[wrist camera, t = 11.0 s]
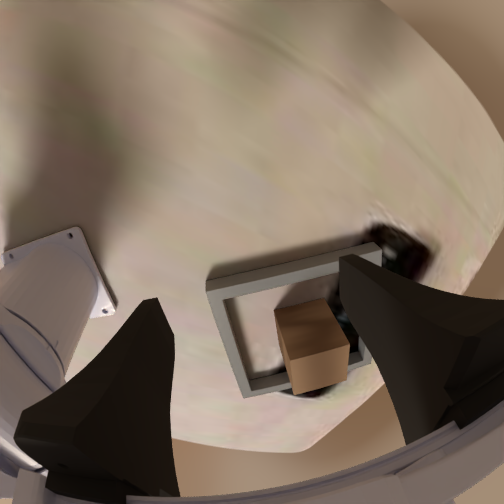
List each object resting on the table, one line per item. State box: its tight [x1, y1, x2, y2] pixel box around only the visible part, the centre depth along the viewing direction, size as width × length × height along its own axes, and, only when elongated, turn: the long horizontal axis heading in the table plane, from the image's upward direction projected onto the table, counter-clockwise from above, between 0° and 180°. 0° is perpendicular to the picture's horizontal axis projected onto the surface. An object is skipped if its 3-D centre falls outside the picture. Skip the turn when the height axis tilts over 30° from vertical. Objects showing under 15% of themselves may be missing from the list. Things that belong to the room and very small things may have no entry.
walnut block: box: [274, 298, 350, 395], centre depth 23 cm, size 4×4×6 cm
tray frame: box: [206, 242, 382, 398], centre depth 26 cm, size 14×14×2 cm
